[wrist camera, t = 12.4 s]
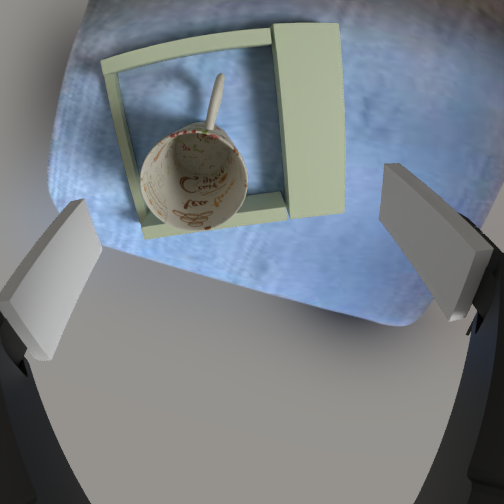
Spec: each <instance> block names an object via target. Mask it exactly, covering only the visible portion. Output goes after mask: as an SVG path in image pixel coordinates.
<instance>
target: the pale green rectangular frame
mask: <svg viewBox="0 0 504 504" xmlns="http://www.w3.org/2000/svg"><path fill="white" fill-rule="evenodd" d="M270 44H271V46H272V55H273V64H274V73H275V83H276V93H277V104H278V114H279V125H280V137H281V149H282V161H283V174H284V188H285V203H286V205H285V203H284V200H283V197H282V195H281V192H280V191H279V192H270V193H262V194H254V195H246V196H245V199H244V201H243V203H242V205H241V207H240V208H239V210H238V211H237V212H236V214H235V215H234V216H233V217H232V218H231V219H229V220H228V221H227V222H225V223H224V224H222V225H220V226H218V227H215V228H213V229H209V230H215V229H222V228H230V227H237V226H245V225H252V224H260V223H268V222H276V221H284V220H287V212H286V209H287V211H288V214H289V217H290V219H296V218H304V217H313V216H321V215H330V214H339V213H344V205H345V112H344V88H343V70H342V56H341V44H340V33H339V23H279V24H273V25H271V26H270V27H269V28H262V29H250V30H240V31H231V32H223V33H216V34H209V35H203V36H197V37H191V38H186V39H180V40H176V41H171V42H166V43H162V44H157V45H153V46H149V47H145V48H141V49H137V50H134V51H130V52H127V53H123V54H120V55H116V56H113V57H110V58H107V59H104V60H101V66H102V72H103V75H104V78H105V84H106V89H107V94H108V99H109V104H110V108H111V113H112V118H113V122H114V127H115V131H116V135H117V139H118V144H119V148H120V152H121V156H122V160H123V163H124V167H125V171H126V175H127V179H128V182H129V186H130V189H131V193H132V196H133V200H134V203H135V207H136V210H137V213H138V217H139V220H140V223H141V229H142V232H143V235H144V239H145V240H146V239H153V238H159V237H166V236H173V235H180V234H187V233H194V232H201V231H184V230H180V229H176V228H174V227H171V226H169V225H167V224H165V223H164V222H162V221H161V220H160V219H158V218H157V217H156V216H155V215H154V214H153V213H152V212H151V211H150V210H149V209H148V206H147V205H146V203H145V201H144V199H143V196H142V193H141V188H140V176H139V172H138V168H137V164H136V160H135V156H134V151H133V147H132V143H131V139H130V134H129V130H128V125H127V121H126V116H125V111H124V106H123V102H122V97H121V91H120V86H119V81H118V75H117V73H119V72H123V71H126V70H130V69H134V68H137V67H141V66H145V65H149V64H153V63H158V62H162V61H167V60H171V59H176V58H181V57H186V56H192V55H198V54H204V53H210V52H217V51H224V50H231V49H240V48H249V47H260V46H268V45H270ZM205 231H208V230H205Z"/></svg>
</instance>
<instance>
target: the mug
mask: <svg viewBox="0 0 504 504" xmlns="http://www.w3.org/2000/svg"><path fill="white" fill-rule="evenodd" d="M224 79H225V77H224V75H223V74H222V73H220V74H218V76H217V77H216V80H215V83H214V87H213V91H212V95H211V99H210V104H209V108H208V113H207V118H206V122H195V123H192V124H189V125H187V126H185V127H183V128H181V129H179V130H177V131H175V132H173V133H171V134H169V135H167V136H166V137H164V138H163V139H161V140H160V141H159V142H158V143H156V144H155V145H154V146H153V148H152V149H151V150H150V151H149V153H148V154H147V156H146V158H145V160H144V162H143V165H142V168H141V173H140V188H141V193H142V196H143V199H144V201H145V203H146V205H147V206H148V208H149V209H150V211H151V212H152V213H153V214H154V215H155V216H156V217H157V218H158V219H160V220H161V221H162V222H164V223H165V224H167V225H169V226H171V227H174V228H176V229H180V230H184V231H205V230H209V229H213V228H215V227H218V226H220V225H222V224H224V223H225V222H227V221H228V220H229V219H231V218H232V217H233V216H234V215H235V214H236V212H237V211H238V210H239V208H240V207H241V205H242V203H243V201H244V199H245V196H246V193H247V188H248V174H247V169H246V166H245V163H244V160H243V158H242V156H241V154H240V153H239V151H238V150H237V148H236V147H235V145H234V144H233V142H232V141H231V139H230V138H229V137H228V135H227V134H226V132H225V131H224V130H223V129H222V128H220V127H219V126H217V125H215V120H216V117H217V114H218V110H219V107H220V104H221V101H222V94H223V84H224Z"/></svg>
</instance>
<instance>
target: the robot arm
mask: <svg viewBox="0 0 504 504" xmlns="http://www.w3.org/2000/svg"><path fill="white" fill-rule="evenodd" d="M379 220H380V221H381V223H382V224H383V225H384V227H385V228H386V229H387V231H388V232H389V233H390V235H391V236H392V237H393V239H394V240H395V241H396V243H397V244H398V246H399V247H400V248H401V250H402V251H403V253H404V254H405V255H406V257H407V258H408V260H409V261H410V263H411V264H412V265H413V267H414V268H415V270H416V271H417V273H418V274H419V276H420V277H421V279H422V280H423V282H424V283H425V285H426V286H427V288H428V289H429V291H430V292H431V294H432V296H433V297H434V299H435V300H436V302H437V303H438V305H439V307H440V308H441V310H442V311H443V313H444V314H445V316H446V318H447V319H448V321H449V322H450V321H454V320H457V319H461V318H465V317H466V316H467V314H468V311H469V309H470V307H471V305H472V304H473V305H474V306H475V308H476V309H477V313H476V315H475V317H474V319H473V321H472V323H471V325H470V327H469V329H468V331H467V333H466V335H469V334H470V332H471V337H470V342H469V347H468V352H467V356H466V361H465V365H464V369H463V373H462V378H461V381H460V385H459V389H458V392H457V396H456V399H455V403H454V406H453V409H452V412H451V416H450V419H449V422H448V425H447V428H446V430H445V433H444V436H443V439H442V441H441V444H440V447H439V449H438V452H437V454H436V457H435V459H434V462H433V464H432V466H431V469H430V471H429V473H428V475H427V478H426V480H425V482H424V484H423V486H422V488H421V491H420V493H419V495H418V497H417V499H416V500H415V502H414V504H504V253H502V252H501V251H500V249H499V248H498V247H497V246H496V245H495V244H494V243H493V242H492V241H491V240H490V239H489V238H488V237H487V236H486V235H485V234H483V232H482V231H481V230H480V229H479V228H476V225H475V224H474V223H473V222H472V221H470V220H469V219H468V218H467V217H465V216H463V215H462V214H460V213H458V212H456V211H455V210H454V209H453V208H452V207H451V206H450V205H449V204H447V203H446V202H445V201H444V200H443V199H442V198H441V197H440V196H438V195H437V194H436V193H435V192H434V191H433V190H431V189H430V188H429V187H428V186H427V185H426V184H424V183H423V182H422V181H421V180H420V179H418V178H417V177H416V176H415V175H413V174H412V173H411V172H410V171H408V170H407V169H406V168H405V167H403V166H402V165H401V164H400V163H391V164H384V174H383V185H382V195H381V205H380V214H379ZM102 250H103V249H102V247H101V244H100V241H99V239H98V236H97V233H96V231H95V228H94V225H93V222H92V219H91V217H90V214H89V211H88V208H87V205H86V202H85V199H79V200H75V201H71V202H70V203H69V204H68V205H67V206H66V207H65V208H64V210H63V211H62V212H61V213H60V214H59V215H58V217H57V218H56V219H55V220H54V221H53V222H52V224H51V225H50V226H49V227H48V228H47V230H46V231H45V232H44V233H43V235H42V236H41V237H40V238H39V240H38V241H37V242H36V244H35V245H34V246H33V247H32V249H31V250H30V251H29V253H28V254H27V255H26V257H25V258H24V259H23V261H22V262H21V263H20V265H19V266H18V267H17V269H16V270H15V272H14V273H13V275H12V276H11V278H10V279H9V280H8V282H7V283H6V285H5V286H4V288H3V289H2V291H1V292H0V504H91V503H90V501H89V500H88V498H87V496H86V495H85V493H84V491H83V489H82V488H81V486H80V484H79V482H78V480H77V479H76V477H75V475H74V473H73V471H72V469H71V467H70V465H69V463H68V461H67V459H66V457H65V455H64V453H63V451H62V449H61V447H60V445H59V442H58V440H57V438H56V436H55V433H54V431H53V429H52V426H51V424H50V421H49V419H48V416H47V414H46V411H45V409H44V406H43V404H42V401H41V398H40V396H39V392H38V390H37V387H36V384H35V381H34V378H33V374H32V371H31V368H30V365H29V363H28V361H27V359H26V358H25V357H24V354H25V352H26V350H27V349H28V350H29V352H30V353H31V354H32V356H33V357H34V358H35V359H36V360H46V361H51V360H52V358H53V355H54V353H55V350H56V348H57V345H58V343H59V341H60V338H61V336H62V333H63V331H64V328H65V326H66V324H67V322H68V320H69V317H70V315H71V313H72V311H73V308H74V306H75V304H76V302H77V300H78V297H79V296H80V293H81V291H82V289H83V287H84V285H85V283H86V281H87V279H88V277H89V275H90V273H91V271H92V269H93V267H94V265H95V263H96V261H97V260H98V258H99V256H100V254H101V252H102Z"/></svg>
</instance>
